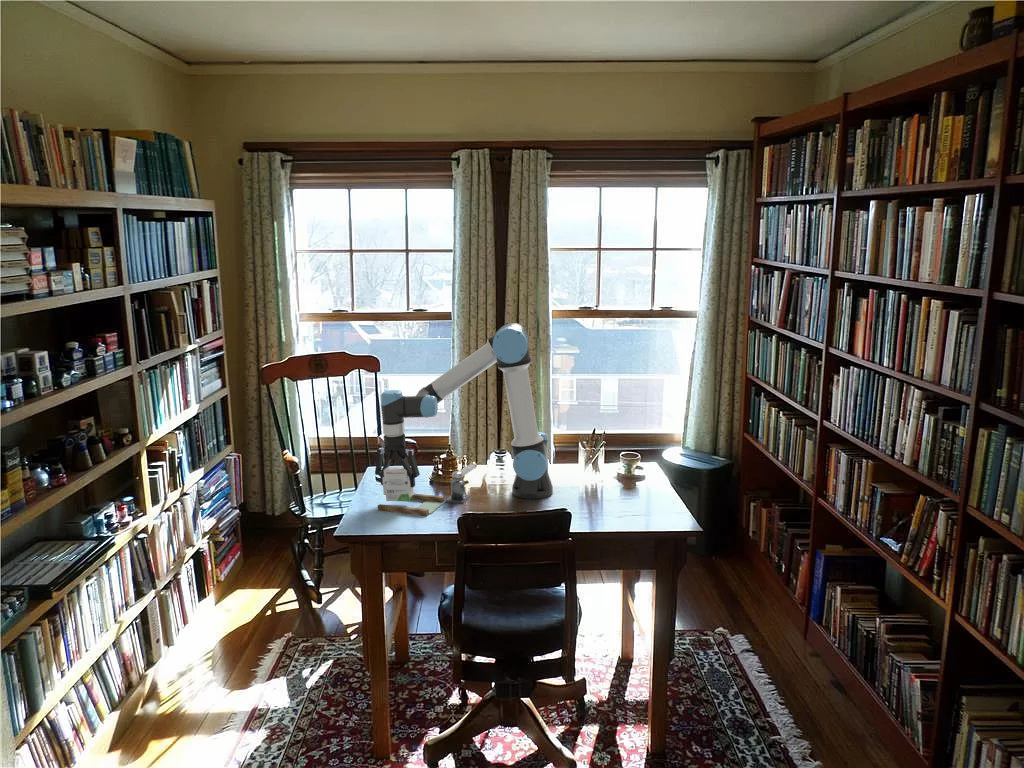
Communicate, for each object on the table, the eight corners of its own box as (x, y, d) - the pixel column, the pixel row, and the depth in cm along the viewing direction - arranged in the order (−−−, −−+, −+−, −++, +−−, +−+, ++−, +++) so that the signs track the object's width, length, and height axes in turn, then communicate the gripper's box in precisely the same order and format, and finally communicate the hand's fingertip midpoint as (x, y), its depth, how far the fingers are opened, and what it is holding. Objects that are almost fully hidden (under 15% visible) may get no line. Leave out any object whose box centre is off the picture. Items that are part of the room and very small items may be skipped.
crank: (459, 481, 277) (459, 474, 277) (450, 480, 279) (450, 473, 278) (479, 468, 292) (479, 461, 291) (470, 467, 293) (470, 460, 293)
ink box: (412, 496, 278) (410, 465, 276) (409, 501, 273) (407, 469, 271) (389, 496, 279) (386, 465, 277) (385, 501, 274) (383, 469, 272)
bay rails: (444, 501, 279) (444, 496, 279) (426, 516, 265) (426, 510, 265) (397, 497, 285) (397, 491, 285) (377, 511, 271) (377, 505, 271)
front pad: (443, 503, 277) (443, 502, 277) (430, 514, 267) (430, 513, 267) (425, 501, 279) (425, 500, 279) (412, 512, 269) (412, 511, 269)
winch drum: (470, 497, 283) (469, 476, 282) (463, 503, 277) (462, 482, 275) (453, 495, 285) (452, 474, 284) (445, 501, 279) (444, 480, 277)
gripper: (426, 432, 272) (430, 493, 276) (371, 430, 279) (376, 489, 283) (417, 438, 265) (422, 500, 269) (361, 435, 272) (366, 495, 276)
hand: (398, 494), depth 276 cm, fingers closed on ink box, 9 cm apart
